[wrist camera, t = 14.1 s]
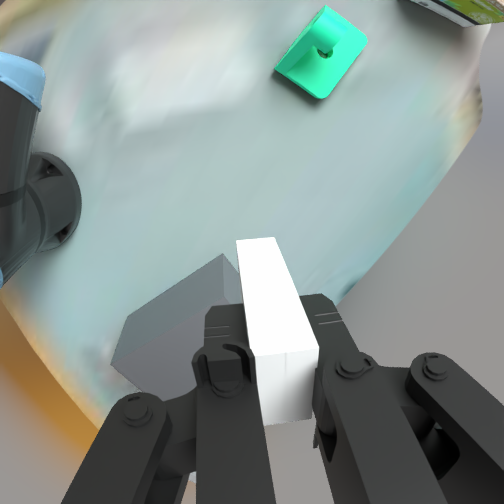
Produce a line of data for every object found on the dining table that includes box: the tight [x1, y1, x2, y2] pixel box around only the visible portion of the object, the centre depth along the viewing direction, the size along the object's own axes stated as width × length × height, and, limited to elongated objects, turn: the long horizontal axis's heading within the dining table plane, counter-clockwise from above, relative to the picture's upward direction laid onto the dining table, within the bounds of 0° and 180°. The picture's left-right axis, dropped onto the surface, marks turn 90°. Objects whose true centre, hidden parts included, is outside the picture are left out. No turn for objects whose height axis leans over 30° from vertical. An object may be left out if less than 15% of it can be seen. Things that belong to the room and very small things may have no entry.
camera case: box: [110, 254, 242, 401], centre depth 47 cm, size 20×12×12 cm, turn 123°
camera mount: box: [274, 5, 367, 99], centre depth 33 cm, size 12×8×10 cm, turn 146°
